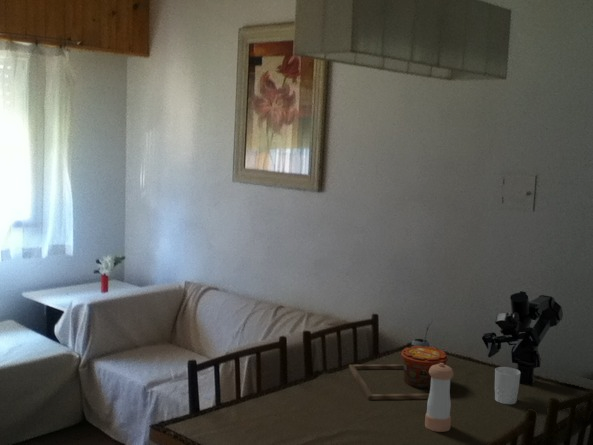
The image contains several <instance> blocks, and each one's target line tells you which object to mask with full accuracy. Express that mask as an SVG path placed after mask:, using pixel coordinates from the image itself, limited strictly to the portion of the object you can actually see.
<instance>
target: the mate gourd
mask: <svg viewBox="0 0 593 445" xmlns="http://www.w3.org/2000/svg"><path fill="white" fill-rule="evenodd" d="M432 322H433V320H430V321H429V323H428V324H427V325H426V327H425V328H426V330H425V333H424V337H423V338H415V339H413V340H412V341H411V345H410V348H411V347H412V346H422V347H426V346H427V347H431V346H430V343H429V341H428V340H427V339H426V338H427V335H428V331H429V328H430V325H432V324H431V323H432Z"/></svg>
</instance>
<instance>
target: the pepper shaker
mask: <svg viewBox="0 0 593 445" xmlns="http://www.w3.org/2000/svg"><path fill="white" fill-rule="evenodd" d="M429 374H430V376H431V387H430V389H429V393H430V394H429V398H428V399H427V403H426V404H427V406H426V413H425V415H424V416H425V417H424V418H425V420H424V426H425V428H426V429H427V430H429V431H433V432H438V433H441V432H444V433H445V432H448V431H450V430H451V426H452V424H451V422H452V416H451V407H452V406H451V405H452V403H451V393H450V390H451V379H453V377H454V375H455V374H454V371H453V368H452V367H451V366H449V365H447V364H446V365H444V363H439V364H436V365H433V366H431V367H430V369H429Z"/></svg>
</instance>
